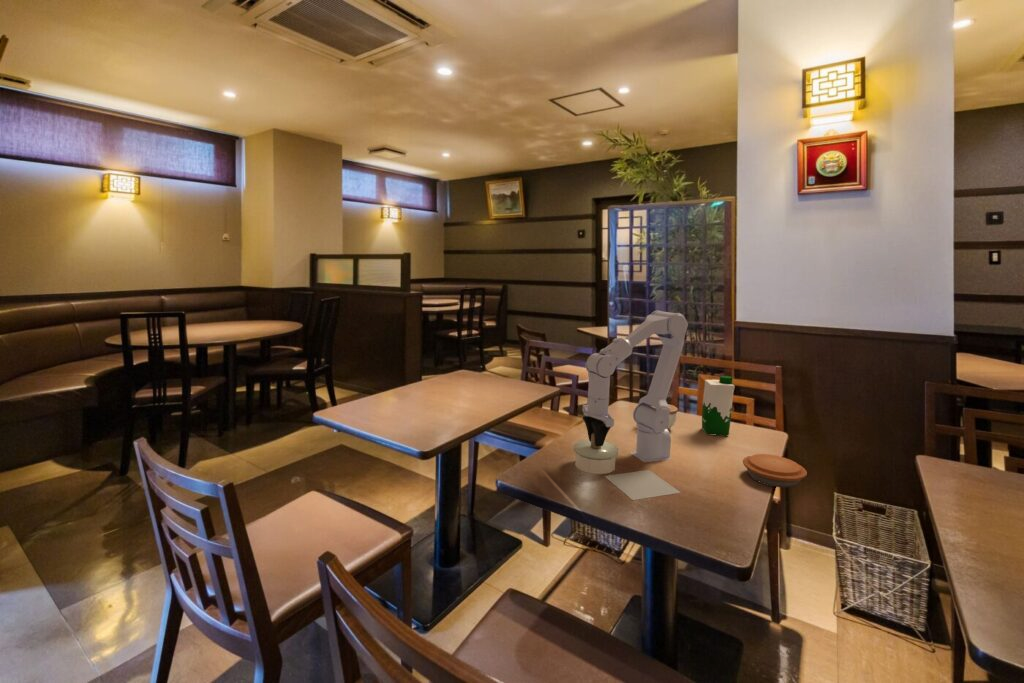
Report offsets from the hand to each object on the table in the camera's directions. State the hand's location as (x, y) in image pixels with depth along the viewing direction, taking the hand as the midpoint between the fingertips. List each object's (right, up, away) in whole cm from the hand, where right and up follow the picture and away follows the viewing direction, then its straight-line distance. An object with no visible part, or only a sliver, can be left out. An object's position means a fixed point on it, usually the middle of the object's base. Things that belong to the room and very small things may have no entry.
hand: (596, 443), depth 136 cm
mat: (+10, -9, -10) cm, 17 cm away
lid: (0, -2, 0) cm, 2 cm away
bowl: (0, -7, +1) cm, 7 cm away
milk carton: (+47, -3, +33) cm, 57 cm away
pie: (+48, -9, -4) cm, 49 cm away
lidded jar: (+29, -2, +36) cm, 46 cm away
